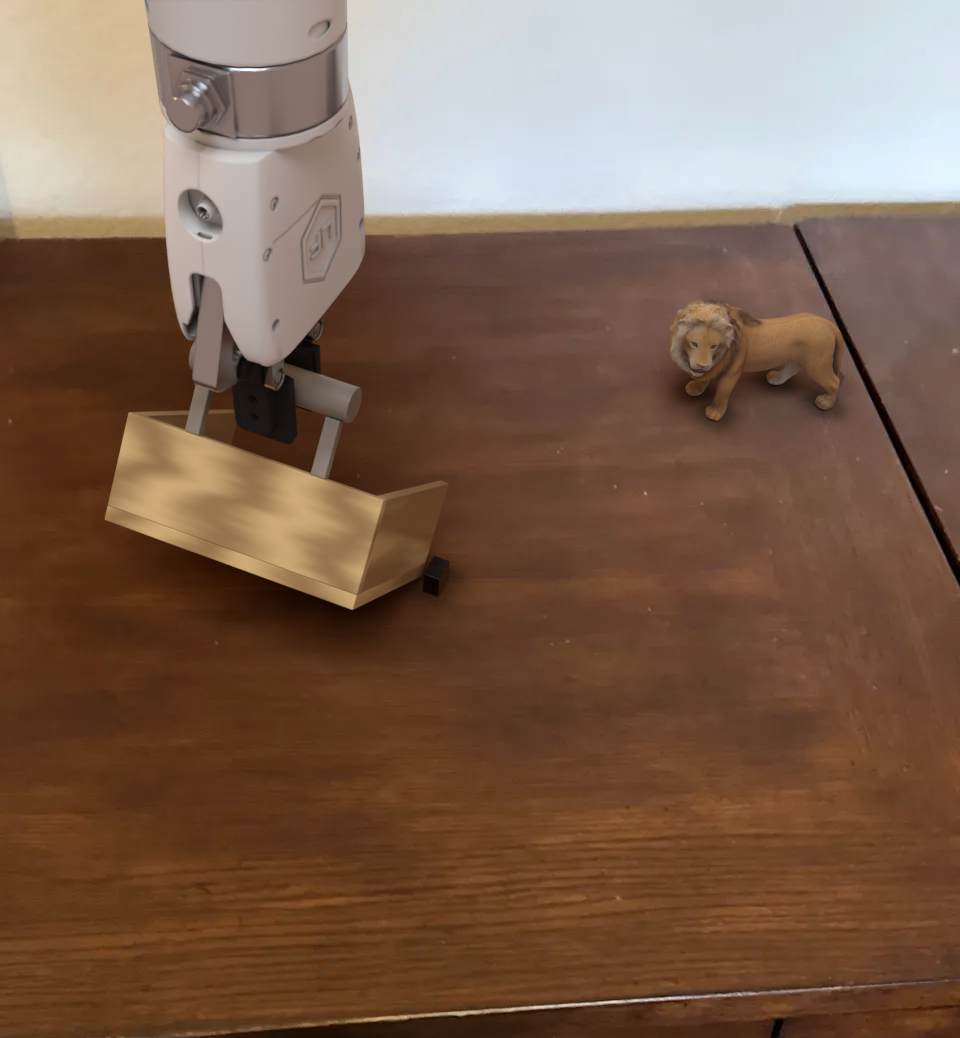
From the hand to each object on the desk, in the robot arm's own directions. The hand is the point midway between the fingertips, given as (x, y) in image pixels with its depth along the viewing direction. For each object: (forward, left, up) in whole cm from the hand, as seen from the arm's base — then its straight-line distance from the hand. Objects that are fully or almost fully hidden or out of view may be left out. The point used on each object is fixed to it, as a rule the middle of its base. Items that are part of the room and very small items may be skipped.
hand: (279, 414), depth 64 cm
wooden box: (0, -2, -9) cm, 9 cm away
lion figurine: (+21, +27, -13) cm, 37 cm away
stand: (0, +3, -13) cm, 13 cm away
